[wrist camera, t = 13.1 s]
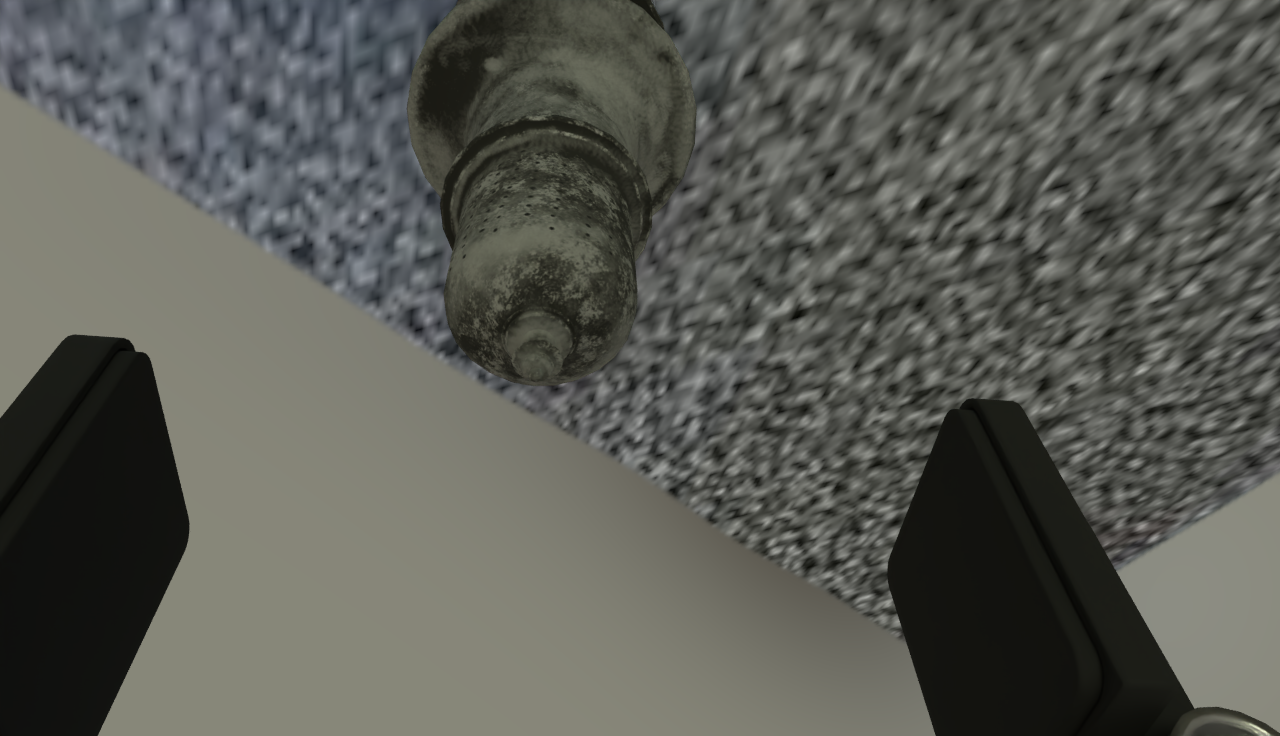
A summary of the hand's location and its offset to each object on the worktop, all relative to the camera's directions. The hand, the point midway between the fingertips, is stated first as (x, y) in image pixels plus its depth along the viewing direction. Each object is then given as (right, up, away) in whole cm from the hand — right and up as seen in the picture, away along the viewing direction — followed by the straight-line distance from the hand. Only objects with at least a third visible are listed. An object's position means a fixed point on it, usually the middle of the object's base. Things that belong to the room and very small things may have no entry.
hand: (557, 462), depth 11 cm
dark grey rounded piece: (-1, +8, +11) cm, 14 cm away
